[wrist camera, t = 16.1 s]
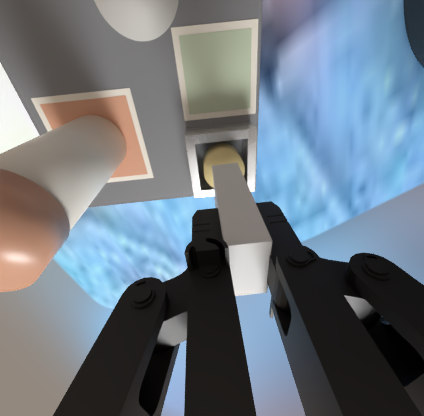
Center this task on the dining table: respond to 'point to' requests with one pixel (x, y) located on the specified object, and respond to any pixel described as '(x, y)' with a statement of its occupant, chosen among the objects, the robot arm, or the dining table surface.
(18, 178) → the ball
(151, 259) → the dining table surface
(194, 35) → the grey flat square panel
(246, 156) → the button housing
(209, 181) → the button
